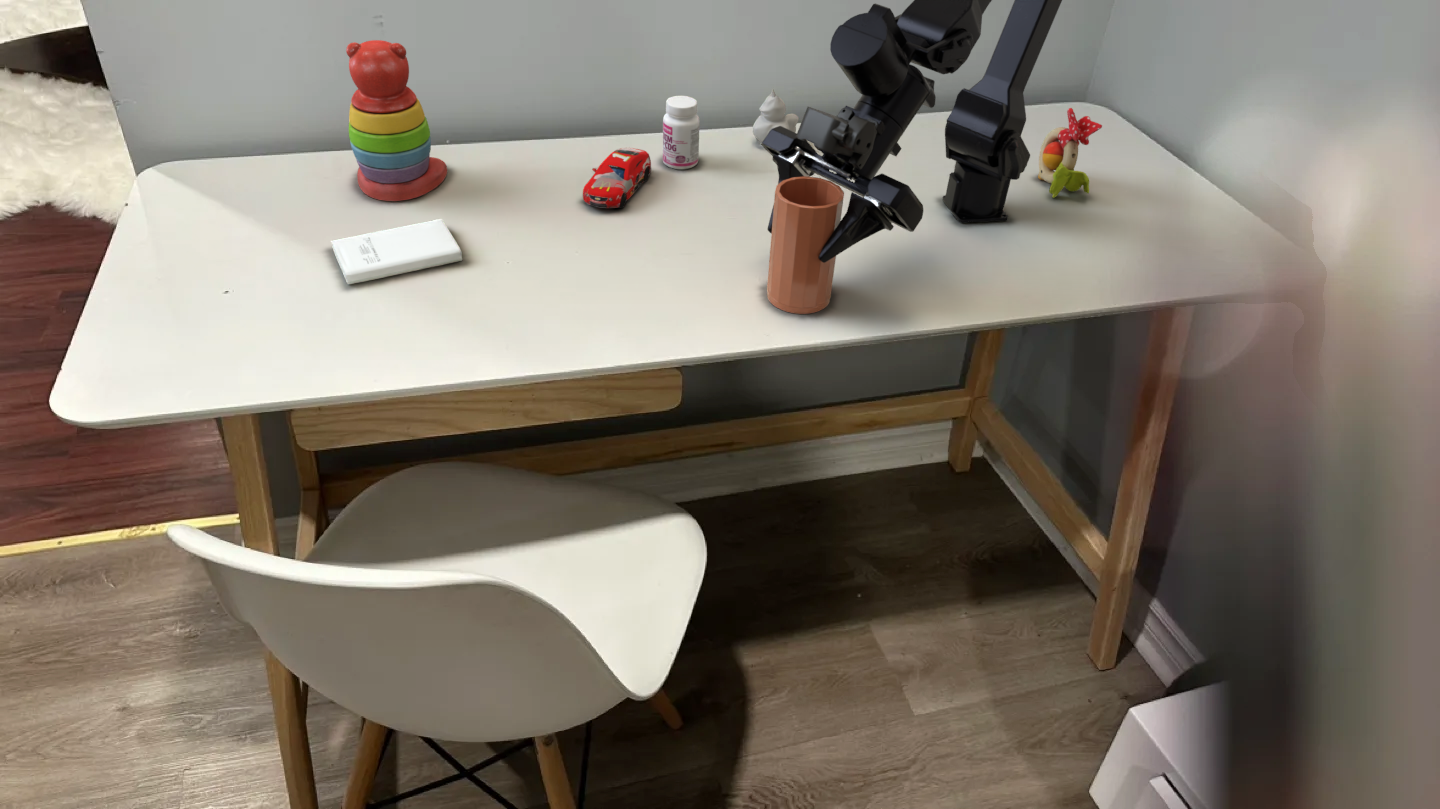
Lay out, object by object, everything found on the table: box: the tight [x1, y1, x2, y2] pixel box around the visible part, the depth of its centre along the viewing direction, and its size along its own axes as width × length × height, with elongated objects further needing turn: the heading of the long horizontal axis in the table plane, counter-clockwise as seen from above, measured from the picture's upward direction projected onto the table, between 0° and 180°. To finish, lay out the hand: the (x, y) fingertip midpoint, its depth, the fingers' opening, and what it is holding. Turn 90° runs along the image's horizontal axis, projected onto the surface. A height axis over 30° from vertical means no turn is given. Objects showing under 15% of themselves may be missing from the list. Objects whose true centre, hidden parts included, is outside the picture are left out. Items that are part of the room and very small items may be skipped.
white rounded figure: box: [752, 87, 799, 144], centre depth 137 cm, size 5×7×8 cm
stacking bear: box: [345, 39, 448, 202], centre depth 119 cm, size 11×10×18 cm
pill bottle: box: [662, 95, 701, 170], centre depth 130 cm, size 5×5×8 cm
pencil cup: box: [766, 176, 845, 315], centre depth 105 cm, size 7×7×12 cm
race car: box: [582, 147, 652, 209], centre depth 125 cm, size 13×5×4 cm, turn 160°
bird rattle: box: [1037, 107, 1103, 199], centre depth 129 cm, size 6×11×9 cm
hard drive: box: [330, 218, 463, 285], centre depth 111 cm, size 2×8×12 cm
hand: (795, 246), depth 104 cm, fingers closed on pencil cup, 7 cm apart
